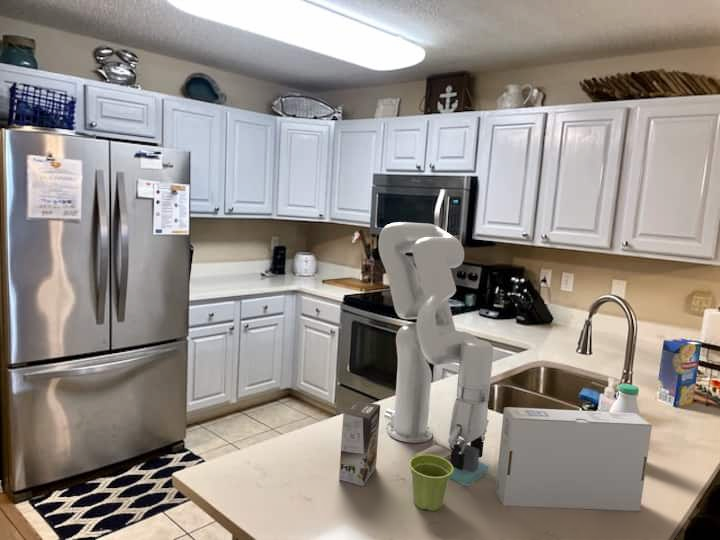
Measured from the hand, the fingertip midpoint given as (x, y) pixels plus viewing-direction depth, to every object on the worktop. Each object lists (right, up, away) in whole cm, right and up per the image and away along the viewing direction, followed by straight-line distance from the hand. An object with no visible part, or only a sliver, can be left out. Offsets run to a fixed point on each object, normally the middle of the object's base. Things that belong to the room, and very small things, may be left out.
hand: (466, 461), depth 122 cm
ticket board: (-6, -2, +6) cm, 9 cm away
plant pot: (-11, -4, -13) cm, 18 cm away
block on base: (0, -3, 0) cm, 3 cm away
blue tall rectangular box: (+87, -1, +59) cm, 105 cm away
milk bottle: (+44, -4, +13) cm, 46 cm away
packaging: (+20, -6, -9) cm, 23 cm away
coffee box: (-26, -2, -3) cm, 26 cm away
